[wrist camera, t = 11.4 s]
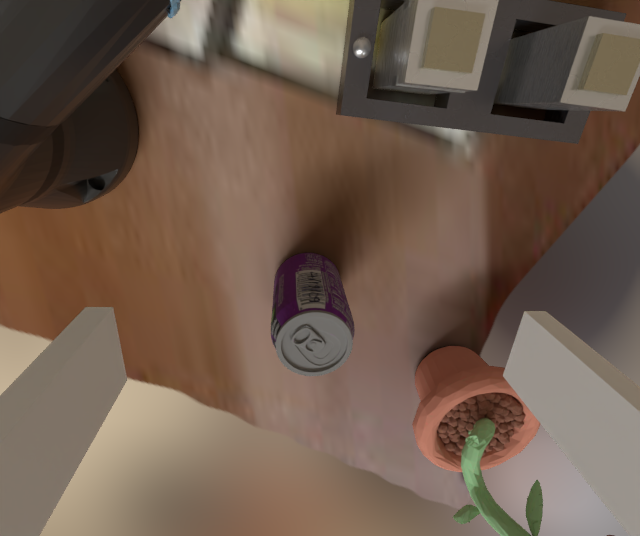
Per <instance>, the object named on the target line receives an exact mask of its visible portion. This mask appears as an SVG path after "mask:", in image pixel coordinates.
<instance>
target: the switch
mask: <svg viewBox="0 0 640 536" xmlns="http://www.w3.org/2000/svg"><path fill="white" fill-rule="evenodd" d="M404 1H405V0H350V3H349V11H348V20H347V28H346V36H345V45H344V53H343V61H342V70H341V78H340V87H339V95H338V103H337V112H336V114H338V115H345V116H353V117H361V118H369V119H378V120H386V121H394V122H403V123H411V124H419V125H427V126H436V127H444V128H452V129H460V130H469V131H477V132H485V133H493V134H502V135H510V136H518V137H527V138H535V139H543V140H551V141H560V142H568V143H576V144H578V142H579V140H580V137H581V134H582V132H583V129H584V126H585V124H586V121H587V118H588V116H589V113H590V111H625V110H626V108H627V105H628V103H629V100H630V98H631V95H632V93H633V91H634V88H635V86H636V83H637V81H638V78H639V76H640V24H634V23H628V22H623V21H624V19H625V16H626V13H620V12H614V11H608V10H602V9H597V8H591V7H585V6H579V5H573V4H567V3H561V2H555V1H549V0H499V2H498V6H497V10H496V14H495V18H494V23H493V27H492V31H491V35H490V39H489V43H488V48H487V52H486V56H485V60H484V64H483V69H482V73H481V77H480V81H479V85H478V89H477V91H466V92H465V93H461V94H456V93H440V94H437V96H436V101H435V105H434V107H430V106H422V105H414V104H406V103H399V102H391V101H383V100H375V99H367V92H368V85H369V79H370V72H371V65H372V58H373V52H374V45H375V38H376V31H377V24H378V18H379V11H380V8H384V9H391V10H397V9H398V8H399V7H400V6H401V5H403V4H404ZM514 29H517V30H524V31H530V32H534V33H530V34H527V35H524V36H520V37H517V38H513V39H511V37H512V34H513V30H514ZM493 104H497V105H505V106H512V107H520V108H528V109H535V110H547V111H546V114H545V117H544V120H543V121H540V120H532V119H524V118H516V117H508V116H501V115H493V114H491V110H492V107H493Z"/></svg>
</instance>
